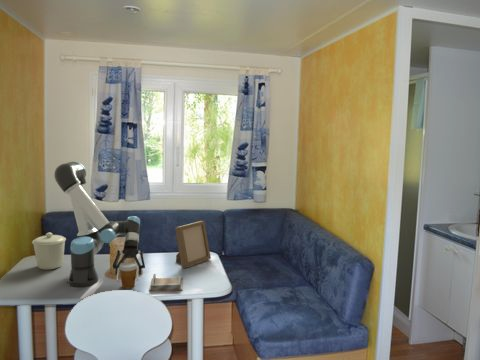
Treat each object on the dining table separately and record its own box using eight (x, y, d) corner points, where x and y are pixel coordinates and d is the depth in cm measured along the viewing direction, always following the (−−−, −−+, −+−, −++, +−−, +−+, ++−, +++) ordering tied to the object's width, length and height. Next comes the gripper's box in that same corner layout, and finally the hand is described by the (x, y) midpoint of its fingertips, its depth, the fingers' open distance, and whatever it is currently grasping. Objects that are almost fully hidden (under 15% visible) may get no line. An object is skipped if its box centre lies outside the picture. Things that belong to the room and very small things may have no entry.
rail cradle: (148, 291, 203) (148, 285, 203) (151, 279, 219) (151, 274, 219) (182, 290, 206) (182, 284, 205) (182, 278, 221) (182, 273, 221)
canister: (54, 273, 224) (52, 237, 222) (26, 270, 228) (24, 235, 225) (73, 263, 242) (72, 229, 239) (46, 260, 245) (45, 227, 242)
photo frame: (210, 260, 254) (210, 222, 250) (186, 269, 236) (186, 228, 233) (194, 255, 262) (194, 218, 259) (169, 264, 245) (169, 224, 242)
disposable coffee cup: (130, 281, 216) (130, 260, 215) (141, 285, 210) (141, 264, 209) (115, 286, 209) (115, 264, 208) (126, 291, 203) (125, 268, 202)
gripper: (152, 245, 224) (149, 282, 211) (112, 245, 221) (106, 283, 208) (151, 238, 218) (148, 276, 205) (109, 239, 215) (104, 277, 202)
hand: (127, 280), depth 206 cm, fingers closed on disposable coffee cup, 9 cm apart
